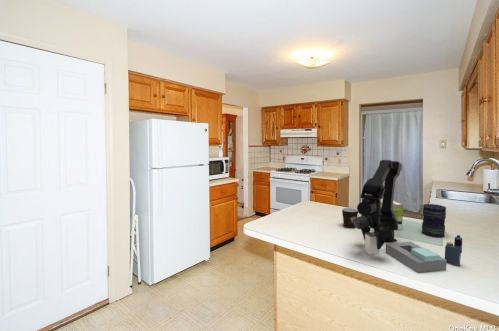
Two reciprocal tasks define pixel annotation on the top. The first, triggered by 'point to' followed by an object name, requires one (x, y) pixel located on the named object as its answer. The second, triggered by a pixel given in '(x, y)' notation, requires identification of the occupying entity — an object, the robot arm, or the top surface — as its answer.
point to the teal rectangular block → (425, 254)
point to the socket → (413, 257)
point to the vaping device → (454, 251)
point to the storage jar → (434, 220)
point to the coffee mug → (349, 217)
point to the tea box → (397, 212)
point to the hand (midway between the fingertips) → (371, 245)
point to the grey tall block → (371, 243)
